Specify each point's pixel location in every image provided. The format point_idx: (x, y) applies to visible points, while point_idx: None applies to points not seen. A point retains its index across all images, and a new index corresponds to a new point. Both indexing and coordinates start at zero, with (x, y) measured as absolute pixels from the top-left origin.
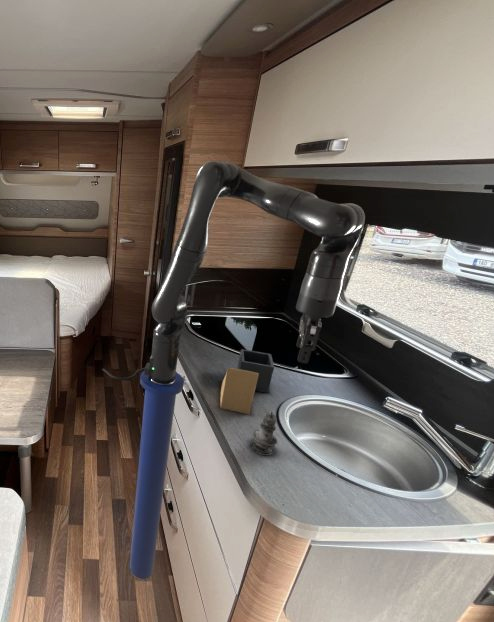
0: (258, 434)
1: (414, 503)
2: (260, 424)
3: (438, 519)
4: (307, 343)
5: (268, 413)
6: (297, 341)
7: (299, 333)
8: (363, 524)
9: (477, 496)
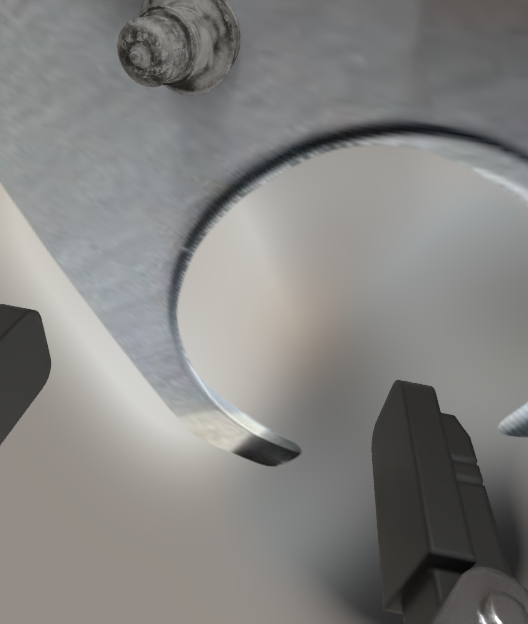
0: (171, 6)
1: (176, 362)
2: (157, 6)
3: (154, 379)
4: (375, 496)
5: (144, 41)
6: (420, 430)
7: (471, 558)
8: (54, 257)
9: (249, 451)
